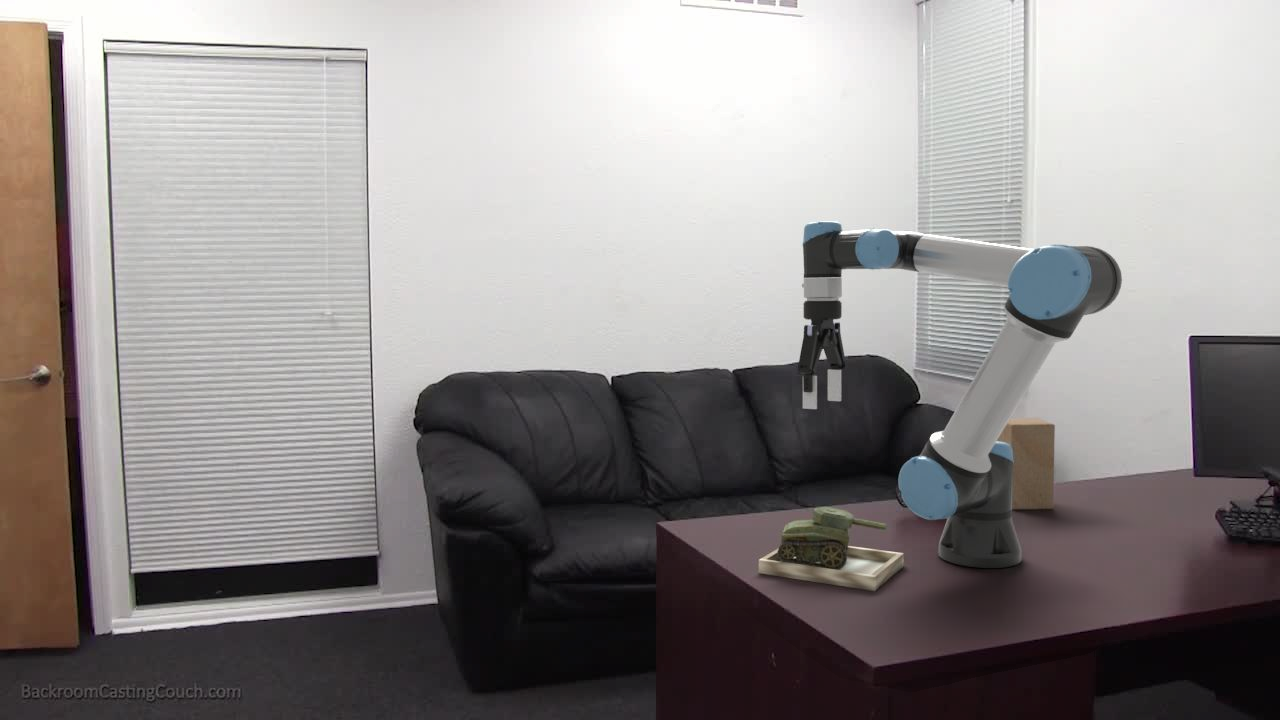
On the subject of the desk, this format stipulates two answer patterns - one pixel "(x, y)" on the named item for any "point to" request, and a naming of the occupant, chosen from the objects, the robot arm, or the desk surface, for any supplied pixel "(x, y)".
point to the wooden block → (1031, 462)
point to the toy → (821, 538)
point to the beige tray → (858, 571)
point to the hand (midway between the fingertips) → (822, 404)
